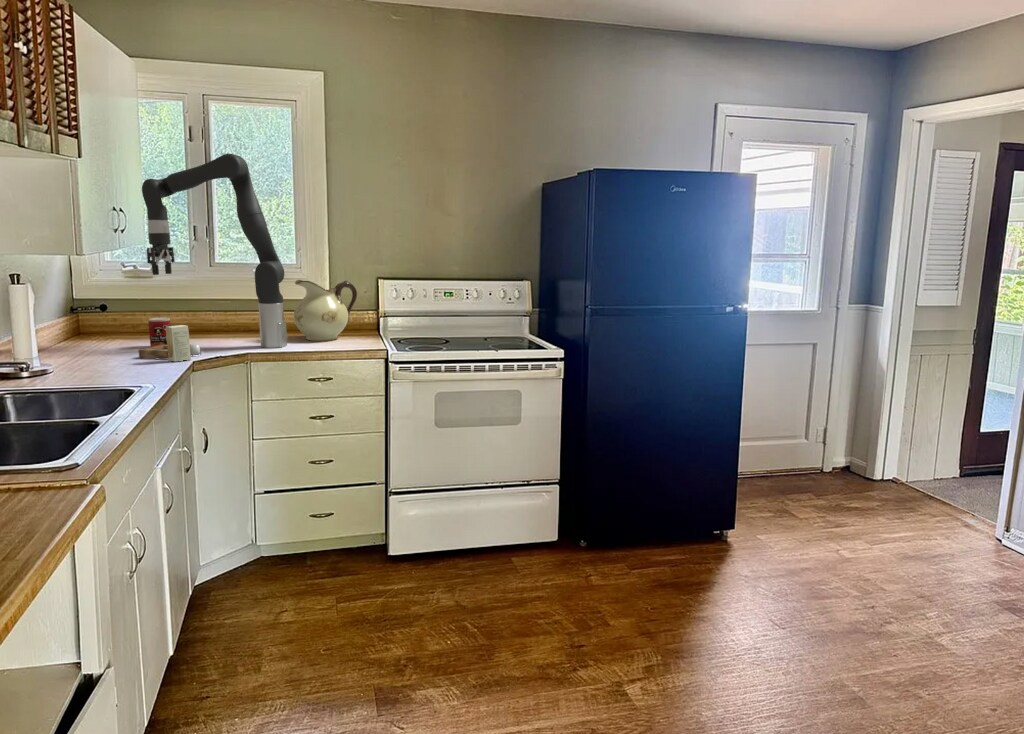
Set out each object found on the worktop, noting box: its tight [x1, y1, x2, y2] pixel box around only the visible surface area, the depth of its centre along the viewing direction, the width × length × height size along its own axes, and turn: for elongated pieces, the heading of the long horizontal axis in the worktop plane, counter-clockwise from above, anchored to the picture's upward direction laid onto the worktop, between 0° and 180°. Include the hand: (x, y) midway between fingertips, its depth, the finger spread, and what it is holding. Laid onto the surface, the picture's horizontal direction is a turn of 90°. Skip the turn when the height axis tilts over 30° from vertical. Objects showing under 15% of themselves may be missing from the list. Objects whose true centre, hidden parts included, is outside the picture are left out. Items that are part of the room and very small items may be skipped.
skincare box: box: [166, 324, 192, 362], centre depth 260 cm, size 6×4×12 cm
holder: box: [138, 344, 168, 359], centre depth 271 cm, size 13×14×3 cm
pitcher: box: [293, 279, 358, 342], centre depth 317 cm, size 22×24×25 cm
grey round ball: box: [190, 343, 201, 355], centre depth 272 cm, size 4×4×4 cm
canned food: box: [148, 317, 172, 347], centre depth 292 cm, size 8×8×11 cm
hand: (162, 274), depth 293 cm, fingers open, 8 cm apart
